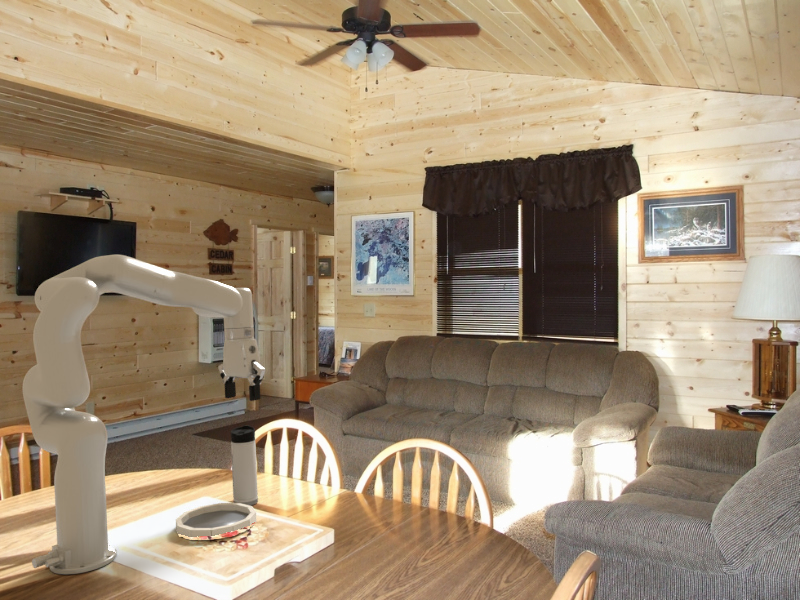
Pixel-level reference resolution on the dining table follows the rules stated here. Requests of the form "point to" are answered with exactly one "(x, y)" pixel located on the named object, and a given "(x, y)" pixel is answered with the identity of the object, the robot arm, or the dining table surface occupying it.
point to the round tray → (215, 519)
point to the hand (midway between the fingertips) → (242, 398)
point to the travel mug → (244, 465)
